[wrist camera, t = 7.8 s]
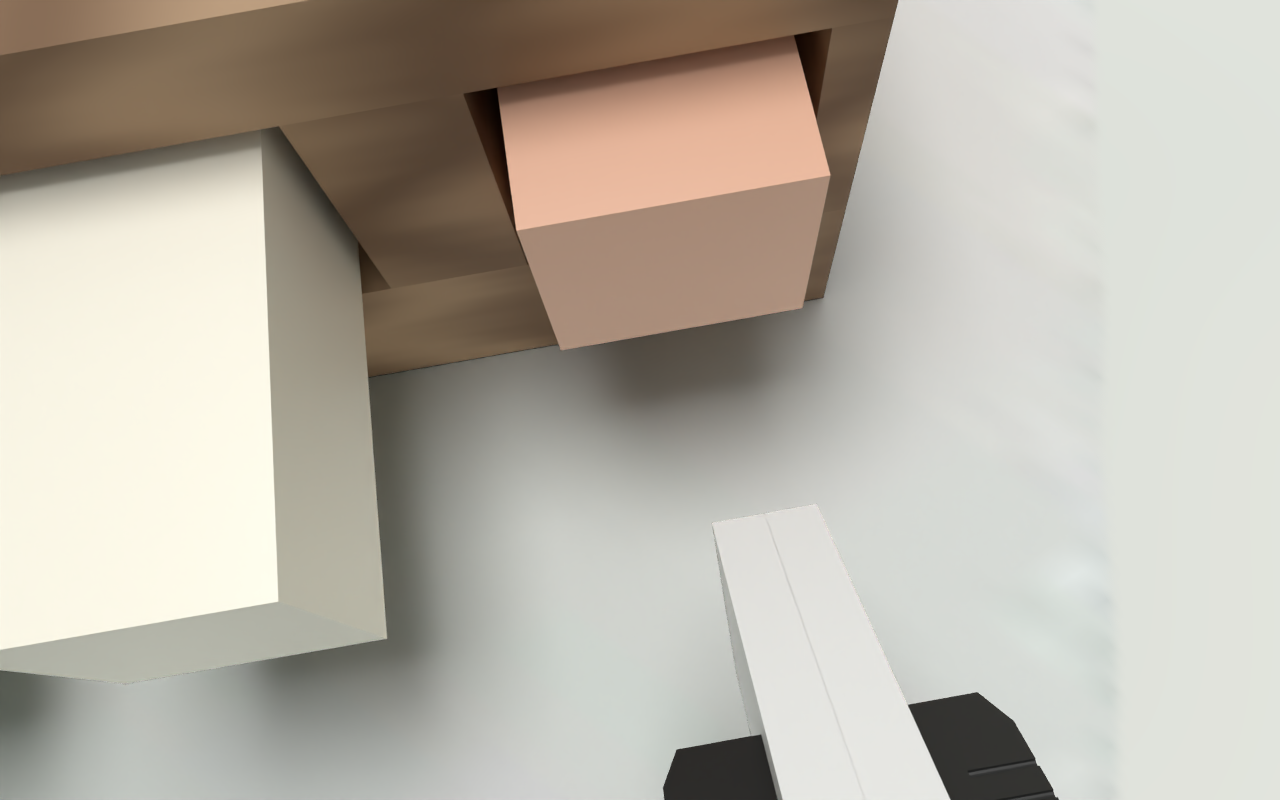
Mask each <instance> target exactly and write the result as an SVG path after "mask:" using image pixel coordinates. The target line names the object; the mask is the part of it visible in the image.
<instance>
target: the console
mask: <svg viewBox="0 0 1280 800" xmlns="http://www.w3.org/2000/svg"><path fill="white" fill-rule="evenodd" d="M897 4H898V0H0V176H1V175H7V174H13V173H18V172H24V171H29V170H35V169H41V168H46V167H52V166H58V165H63V164H69V163H75V162H80V161H86V160H91V159H97V158H103V157H108V156H114V155H120V154H125V153H131V152H136V151H142V150H148V149H153V148H159V147H165V146H170V145H176V144H182V143H187V142H193V141H198V140H204V139H210V138H215V137H221V136H227V135H232V134H238V133H244V132H249V131H255V130H260V129H266V128H272V127H277V126H279V127H280V129H281V130H282V131H283V133H284V134H285V136H286V137H287V139H288V140H289V142H290V143H291V144H292V146H293V147H294V149H295V150H296V152H297V153H298V155H299V156H300V158H301V159H302V160H303V162H304V163H305V165H306V166H307V168H308V169H309V171H310V172H311V173H312V175H313V176H314V178H315V179H316V181H317V182H318V184H319V185H320V186H321V188H322V189H323V191H324V192H325V194H326V195H327V197H328V198H329V199H330V201H331V202H332V204H333V205H334V207H335V208H336V210H337V211H338V212H339V214H340V215H341V217H342V218H343V220H344V221H345V223H346V224H347V226H348V227H349V228H350V230H351V231H352V233H353V234H354V236H355V237H356V239H357V240H358V248H359V262H360V276H361V289H362V303H363V316H364V330H365V344H366V357H367V371H368V377H373V376H378V375H384V374H390V373H396V372H401V371H407V370H413V369H418V368H424V367H430V366H435V365H441V364H447V363H453V362H458V361H464V360H470V359H475V358H481V357H487V356H493V355H498V354H504V353H510V352H515V351H521V350H527V349H533V348H538V347H544V346H550V345H555V344H558V341H557V338H556V336H555V333H554V330H553V328H552V325H551V322H550V320H549V317H548V314H547V312H546V309H545V306H544V304H543V301H542V298H541V296H540V293H539V290H538V287H537V285H536V282H535V279H534V277H533V274H532V271H531V269H530V266H529V263H528V261H527V258H526V255H525V253H524V250H523V247H522V244H521V242H520V239H519V236H518V234H517V231H516V224H515V217H514V209H513V202H512V195H511V187H510V180H509V172H508V165H507V158H506V150H505V143H504V135H503V128H502V121H501V113H500V106H499V98H498V91H497V87H503V86H508V85H514V84H520V83H525V82H531V81H537V80H542V79H548V78H553V77H559V76H565V75H570V74H576V73H582V72H587V71H593V70H599V69H604V68H610V67H615V66H621V65H627V64H632V63H638V62H644V61H649V60H655V59H661V58H666V57H672V56H677V55H683V54H689V53H694V52H700V51H706V50H711V49H717V48H723V47H728V46H734V45H739V44H745V43H751V42H756V41H762V40H768V39H773V38H779V37H784V36H790V35H794V38H795V41H796V45H797V49H798V53H799V57H800V61H801V64H802V68H803V72H804V76H805V80H806V83H807V87H808V91H809V95H810V99H811V103H812V106H813V110H814V114H815V118H816V122H817V125H818V129H819V133H820V137H821V141H822V144H823V148H824V152H825V156H826V160H827V164H828V167H829V171H830V175H831V176H830V180H829V185H828V190H827V195H826V199H825V204H824V209H823V214H822V218H821V223H820V228H819V233H818V237H817V242H816V247H815V251H814V256H813V261H812V266H811V270H810V275H809V280H808V285H807V289H806V294H805V299H804V301H806V300H812V299H818V298H823V297H824V293H825V289H826V285H827V281H828V277H829V273H830V269H831V265H832V261H833V257H834V253H835V249H836V245H837V241H838V237H839V233H840V230H841V226H842V222H843V218H844V214H845V210H846V206H847V202H848V198H849V194H850V190H851V186H852V182H853V178H854V174H855V170H856V166H857V162H858V158H859V154H860V150H861V146H862V142H863V138H864V134H865V130H866V127H867V123H868V119H869V115H870V111H871V107H872V103H873V99H874V95H875V91H876V87H877V83H878V79H879V75H880V71H881V67H882V63H883V59H884V55H885V51H886V47H887V43H888V39H889V35H890V31H891V27H892V24H893V20H894V16H895V12H896V8H897Z"/></svg>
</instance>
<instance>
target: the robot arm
mask: <svg viewBox="0 0 1280 800" xmlns="http://www.w3.org/2000/svg"><path fill="white" fill-rule="evenodd" d="M712 527H713V534H714V540H715V546H716V552H717V558H718V564H719V570H720V577H721V583H722V589H723V595H724V601H725V607H726V614H727V620H728V626H729V632H730V638H731V644H732V650H733V657H734V663H735V669H736V674H737V679H738V683H739V687H740V691H741V695H742V700H743V704H744V708H745V712H746V716H747V721H748V725H749V729H750V733H751V736H749V737H744V738H738V739H733V740H727V741H722V742H716V743H711V744H705V745H700V746H694V747H689V748H683V749H678V750H676V753H675V756H674V759H673V761H672V764H671V767H670V770H669V773H668V775H667V778H666V781H665V784H664V786H663V791H664V799H665V800H1059V799H1058V797H1055V795H1054V792H1053V788H1052V787H1051V785H1050V783H1049V781H1048V780H1047V778H1046V776H1045V774H1044V773H1043V771H1042V769H1041V768H1040V766H1037V764H1036V761H1035V757H1034V755H1033V754H1032V752H1031V750H1030V748H1029V747H1028V745H1027V743H1026V742H1025V740H1024V738H1023V736H1022V735H1021V733H1020V731H1019V729H1018V728H1017V726H1016V724H1015V722H1014V721H1013V720H1012V719H1010V718H1009V717H1008V716H1007V715H1005V714H1004V713H1003V712H1002V711H1000V710H999V709H998V708H997V707H995V706H994V705H993V704H992V703H990V702H989V701H988V700H987V699H985V698H984V697H983V696H981V695H980V694H979V693H978V692H976V693H971V694H965V695H960V696H954V697H949V698H943V699H938V700H932V701H927V702H921V703H916V704H910V705H907V703H906V700H905V698H904V696H903V694H902V691H901V689H900V687H899V685H898V683H897V680H896V678H895V676H894V674H893V671H892V669H891V667H890V665H889V663H888V660H887V658H886V656H885V654H884V652H883V649H882V647H881V645H880V643H879V640H878V638H877V636H876V634H875V632H874V629H873V627H872V625H871V623H870V620H869V618H868V616H867V614H866V612H865V609H864V607H863V605H862V603H861V601H860V598H859V596H858V594H857V592H856V589H855V587H854V585H853V583H852V581H851V578H850V576H849V574H848V572H847V569H846V567H845V565H844V563H843V561H842V558H841V556H840V554H839V552H838V550H837V547H836V545H835V543H834V541H833V538H832V536H831V534H830V532H829V530H828V527H827V525H826V523H825V521H824V518H823V516H822V514H821V512H820V510H819V507H818V505H817V504H812V505H806V506H801V507H795V508H790V509H784V510H779V511H774V512H768V513H763V514H757V515H752V516H746V517H741V518H735V519H730V520H725V521H719V522H714V523H712Z"/></svg>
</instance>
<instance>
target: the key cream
mask: <svg viewBox="0 0 1280 800" xmlns="http://www.w3.org/2000/svg"><path fill="white" fill-rule="evenodd" d="M383 639H387V630H386V616H385V602H384V589H383V575H382V561H381V548H380V534H379V521H378V507H377V493H376V480H375V466H374V453H373V439H372V425H371V412H370V398H369V384H368V371H367V357H366V344H365V330H364V316H363V303H362V289H361V276H360V262H359V248H358V240H357V239H356V237H355V236H354V234H353V233H352V231H351V230H350V228H349V227H348V226H347V224H346V223H345V221H344V220H343V218H342V217H341V215H340V214H339V212H338V211H337V210H336V208H335V207H334V205H333V204H332V202H331V201H330V199H329V198H328V197H327V195H326V194H325V192H324V191H323V189H322V188H321V186H320V185H319V184H318V182H317V181H316V179H315V178H314V176H313V175H312V173H311V172H310V171H309V169H308V168H307V166H306V165H305V163H304V162H303V160H302V159H301V158H300V156H299V155H298V153H297V152H296V150H295V149H294V147H293V146H292V144H291V143H290V142H289V140H288V139H287V137H286V136H285V134H284V133H283V131H282V130H281V129H280V127H279V126H277V127H272V128H266V129H260V130H255V131H249V132H244V133H238V134H232V135H227V136H221V137H215V138H210V139H204V140H198V141H193V142H187V143H182V144H176V145H170V146H165V147H159V148H153V149H148V150H142V151H136V152H131V153H125V154H120V155H114V156H108V157H103V158H97V159H91V160H86V161H80V162H75V163H69V164H63V165H58V166H52V167H46V168H41V169H35V170H29V171H24V172H18V173H13V174H7V175H1V176H0V670H3V671H12V672H21V673H30V674H39V675H48V676H57V677H66V678H75V679H84V680H93V681H102V682H111V683H120V684H129V683H134V682H140V681H146V680H152V679H157V678H163V677H169V676H175V675H181V674H186V673H192V672H198V671H204V670H209V669H215V668H221V667H227V666H233V665H238V664H244V663H250V662H256V661H262V660H267V659H273V658H279V657H285V656H290V655H296V654H302V653H308V652H314V651H319V650H325V649H331V648H337V647H342V646H348V645H354V644H360V643H366V642H371V641H377V640H383Z"/></svg>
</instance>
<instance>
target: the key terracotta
mask: <svg viewBox="0 0 1280 800" xmlns="http://www.w3.org/2000/svg"><path fill="white" fill-rule="evenodd" d="M497 91H498V98H499V106H500V113H501V121H502V128H503V135H504V143H505V150H506V158H507V165H508V172H509V180H510V187H511V195H512V202H513V209H514V217H515V224H516V231H517V234H518V236H519V239H520V242H521V244H522V247H523V250H524V253H525V255H526V258H527V261H528V263H529V266H530V269H531V271H532V274H533V277H534V279H535V282H536V285H537V287H538V290H539V293H540V296H541V298H542V301H543V304H544V306H545V309H546V312H547V314H548V317H549V320H550V322H551V325H552V328H553V330H554V333H555V336H556V338H557V341H558V344H559V347H560V349H561V350H567V349H573V348H578V347H584V346H590V345H596V344H601V343H607V342H613V341H618V340H624V339H630V338H635V337H641V336H647V335H653V334H658V333H664V332H670V331H675V330H681V329H687V328H693V327H698V326H704V325H710V324H715V323H721V322H727V321H733V320H738V319H744V318H750V317H755V316H761V315H767V314H773V313H778V312H784V311H790V310H795V309H801V308H803V303H804V299H805V294H806V289H807V285H808V280H809V275H810V270H811V266H812V261H813V256H814V251H815V247H816V242H817V237H818V233H819V228H820V223H821V218H822V214H823V209H824V204H825V199H826V195H827V190H828V185H829V180H830V176H831V175H830V171H829V167H828V164H827V160H826V156H825V152H824V148H823V144H822V141H821V137H820V133H819V129H818V125H817V122H816V118H815V114H814V110H813V106H812V103H811V99H810V95H809V91H808V87H807V83H806V80H805V76H804V72H803V68H802V64H801V61H800V57H799V53H798V49H797V45H796V41H795V38H794V35H790V36H784V37H779V38H773V39H768V40H762V41H756V42H751V43H745V44H739V45H734V46H728V47H723V48H717V49H711V50H706V51H700V52H694V53H689V54H683V55H677V56H672V57H666V58H661V59H655V60H649V61H644V62H638V63H632V64H627V65H621V66H615V67H610V68H604V69H599V70H593V71H587V72H582V73H576V74H570V75H565V76H559V77H553V78H548V79H542V80H537V81H531V82H525V83H520V84H514V85H508V86H503V87H497Z"/></svg>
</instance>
